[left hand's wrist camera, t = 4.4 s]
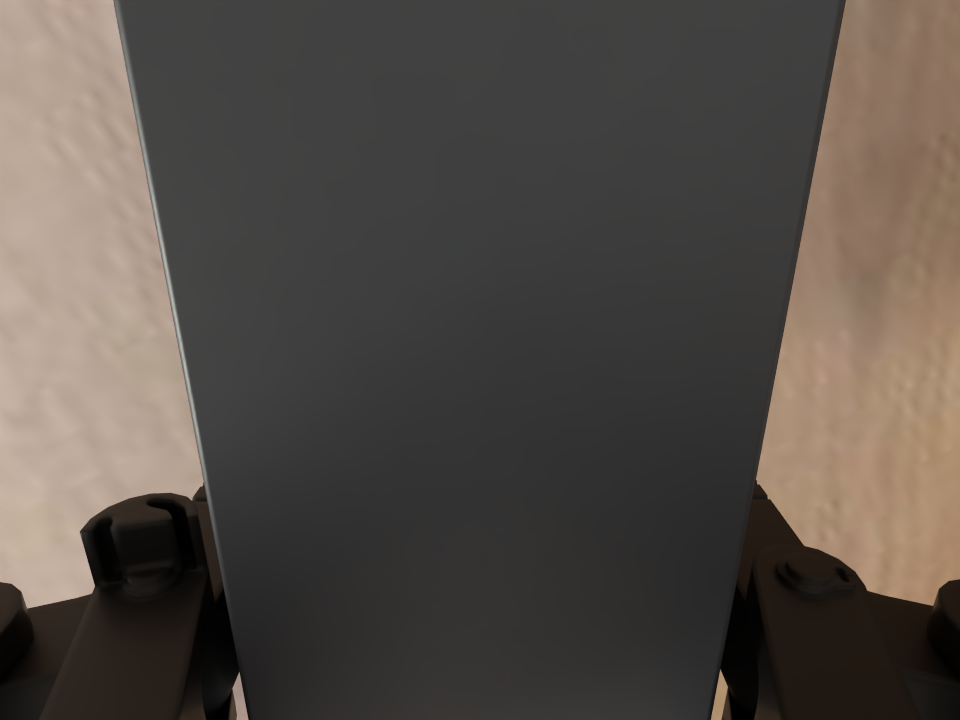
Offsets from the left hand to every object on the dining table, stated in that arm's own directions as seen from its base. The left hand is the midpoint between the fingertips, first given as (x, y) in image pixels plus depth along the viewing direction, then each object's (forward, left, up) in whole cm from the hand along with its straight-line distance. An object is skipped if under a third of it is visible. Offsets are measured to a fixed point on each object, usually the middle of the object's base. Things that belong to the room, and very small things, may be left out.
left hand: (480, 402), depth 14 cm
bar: (+8, 0, -1) cm, 8 cm away
